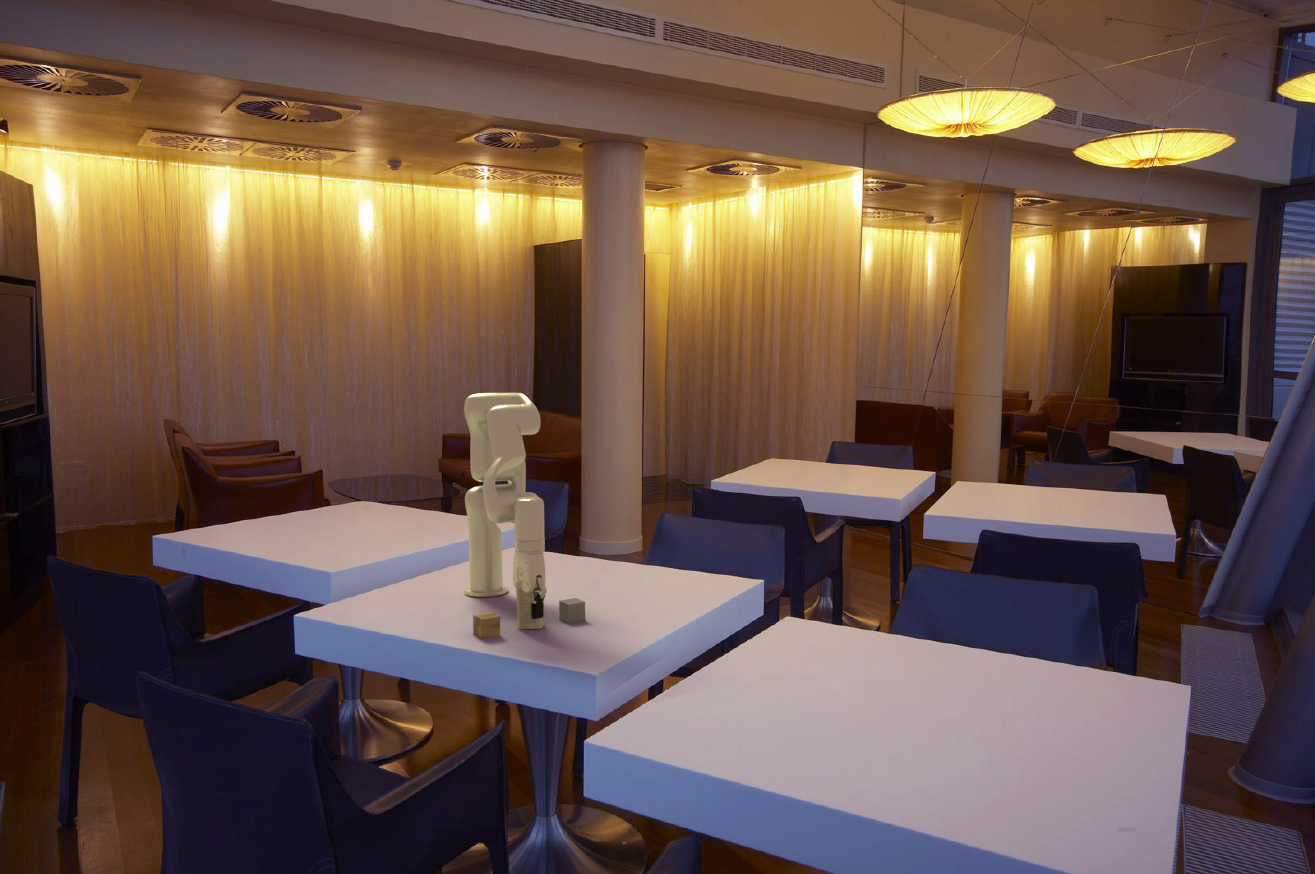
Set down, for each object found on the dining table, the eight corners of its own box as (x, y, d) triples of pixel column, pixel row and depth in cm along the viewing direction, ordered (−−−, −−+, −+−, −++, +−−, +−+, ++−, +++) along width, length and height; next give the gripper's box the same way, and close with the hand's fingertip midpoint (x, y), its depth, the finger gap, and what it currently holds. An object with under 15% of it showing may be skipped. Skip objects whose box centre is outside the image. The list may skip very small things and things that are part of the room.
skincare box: (545, 624, 231) (544, 577, 230) (541, 629, 227) (540, 581, 226) (520, 624, 232) (519, 577, 231) (516, 629, 228) (515, 581, 227)
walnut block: (473, 634, 223) (473, 614, 223) (492, 631, 226) (491, 611, 226) (481, 639, 219) (481, 619, 219) (500, 636, 222) (500, 616, 222)
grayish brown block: (559, 619, 237) (559, 600, 236) (576, 616, 240) (575, 597, 239) (568, 623, 233) (568, 604, 232) (585, 620, 235) (585, 601, 235)
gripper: (501, 541, 233) (502, 609, 234) (531, 553, 219) (532, 624, 220) (528, 538, 237) (529, 605, 238) (558, 549, 223) (559, 620, 224)
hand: (530, 614), depth 229 cm, fingers closed on skincare box, 7 cm apart
